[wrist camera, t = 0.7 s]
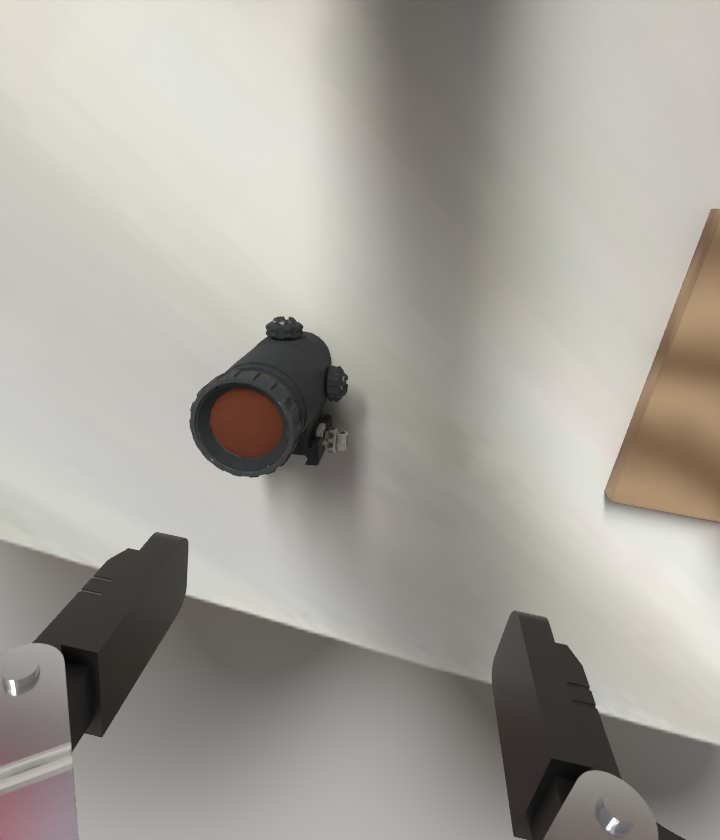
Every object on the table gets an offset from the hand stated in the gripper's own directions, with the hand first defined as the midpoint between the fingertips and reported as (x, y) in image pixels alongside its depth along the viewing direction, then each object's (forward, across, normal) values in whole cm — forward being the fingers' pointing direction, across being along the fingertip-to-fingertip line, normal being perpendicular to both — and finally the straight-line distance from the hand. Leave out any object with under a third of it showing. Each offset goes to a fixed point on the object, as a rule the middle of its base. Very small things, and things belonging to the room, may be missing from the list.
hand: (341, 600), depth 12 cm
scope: (+26, +6, +4) cm, 27 cm away
